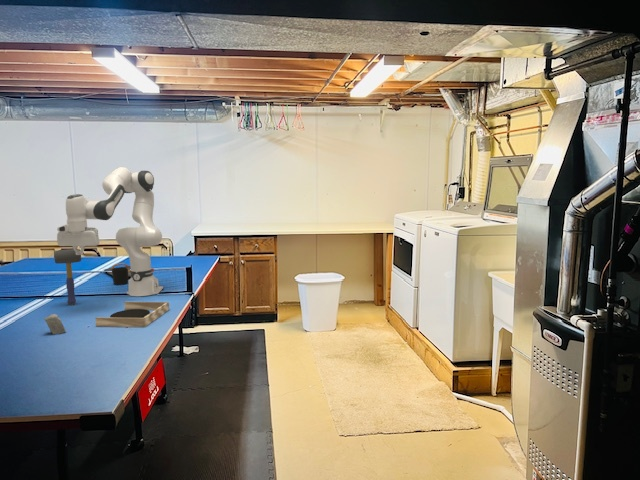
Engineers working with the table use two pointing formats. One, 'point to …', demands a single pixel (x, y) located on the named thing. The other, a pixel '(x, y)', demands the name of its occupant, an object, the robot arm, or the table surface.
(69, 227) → the robot arm
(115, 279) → the pen holder
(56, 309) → the table surface
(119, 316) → the wireless charger
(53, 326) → the mineral specimen
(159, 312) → the box
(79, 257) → the rubber mallet
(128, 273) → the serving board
